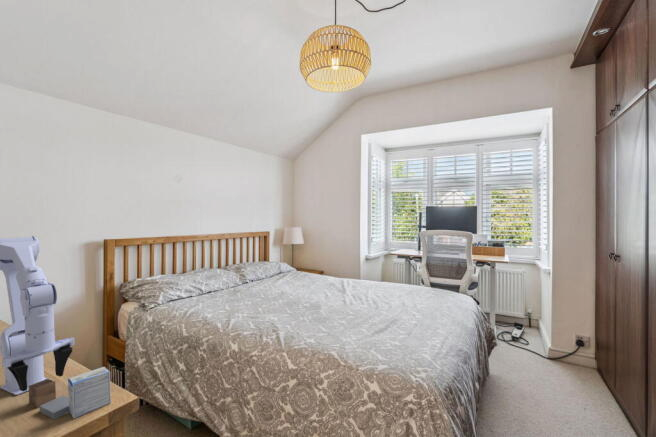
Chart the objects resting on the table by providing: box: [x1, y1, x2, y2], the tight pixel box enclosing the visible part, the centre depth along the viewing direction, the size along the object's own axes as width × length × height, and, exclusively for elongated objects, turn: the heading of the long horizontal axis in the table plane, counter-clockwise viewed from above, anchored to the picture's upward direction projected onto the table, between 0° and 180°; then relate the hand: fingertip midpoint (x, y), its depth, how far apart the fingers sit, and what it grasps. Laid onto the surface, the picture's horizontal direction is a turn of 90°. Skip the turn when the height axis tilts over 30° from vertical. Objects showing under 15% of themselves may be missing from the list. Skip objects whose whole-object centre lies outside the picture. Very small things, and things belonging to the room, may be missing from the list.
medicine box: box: [67, 366, 112, 419], centre depth 81 cm, size 8×4×9 cm, turn 141°
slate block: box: [39, 395, 70, 420], centre depth 80 cm, size 7×5×2 cm
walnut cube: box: [28, 378, 57, 409], centre depth 83 cm, size 4×4×5 cm
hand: (42, 382), depth 83 cm, fingers open, 7 cm apart
